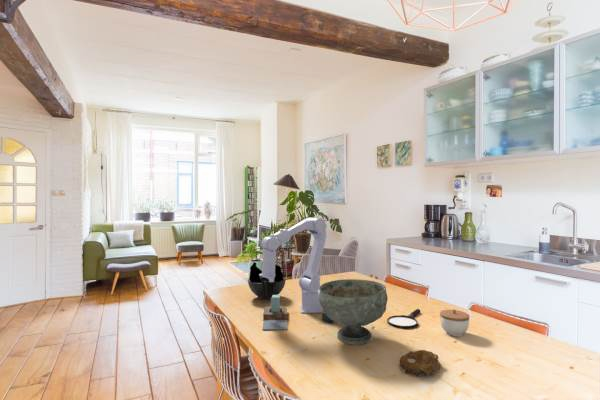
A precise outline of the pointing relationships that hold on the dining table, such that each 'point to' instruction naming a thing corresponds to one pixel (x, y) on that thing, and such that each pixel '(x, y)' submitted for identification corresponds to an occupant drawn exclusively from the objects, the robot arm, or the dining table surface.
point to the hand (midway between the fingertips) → (267, 295)
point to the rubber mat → (275, 325)
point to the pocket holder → (275, 314)
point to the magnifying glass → (404, 320)
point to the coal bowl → (256, 282)
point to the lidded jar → (454, 322)
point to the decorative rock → (420, 363)
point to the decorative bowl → (353, 306)
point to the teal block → (275, 303)
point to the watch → (326, 318)
